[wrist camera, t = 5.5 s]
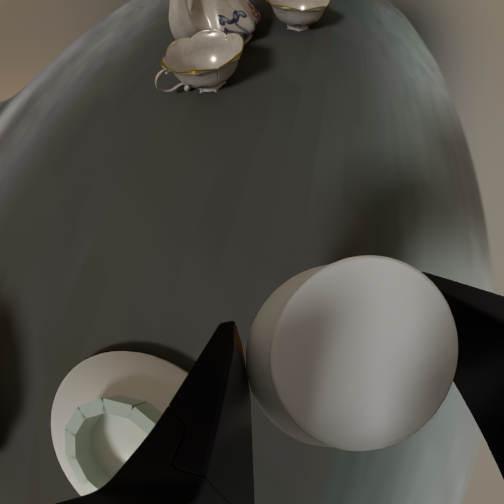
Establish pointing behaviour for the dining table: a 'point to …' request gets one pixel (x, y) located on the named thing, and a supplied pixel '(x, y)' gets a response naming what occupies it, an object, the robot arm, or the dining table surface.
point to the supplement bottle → (353, 353)
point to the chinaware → (221, 36)
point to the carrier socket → (109, 413)
